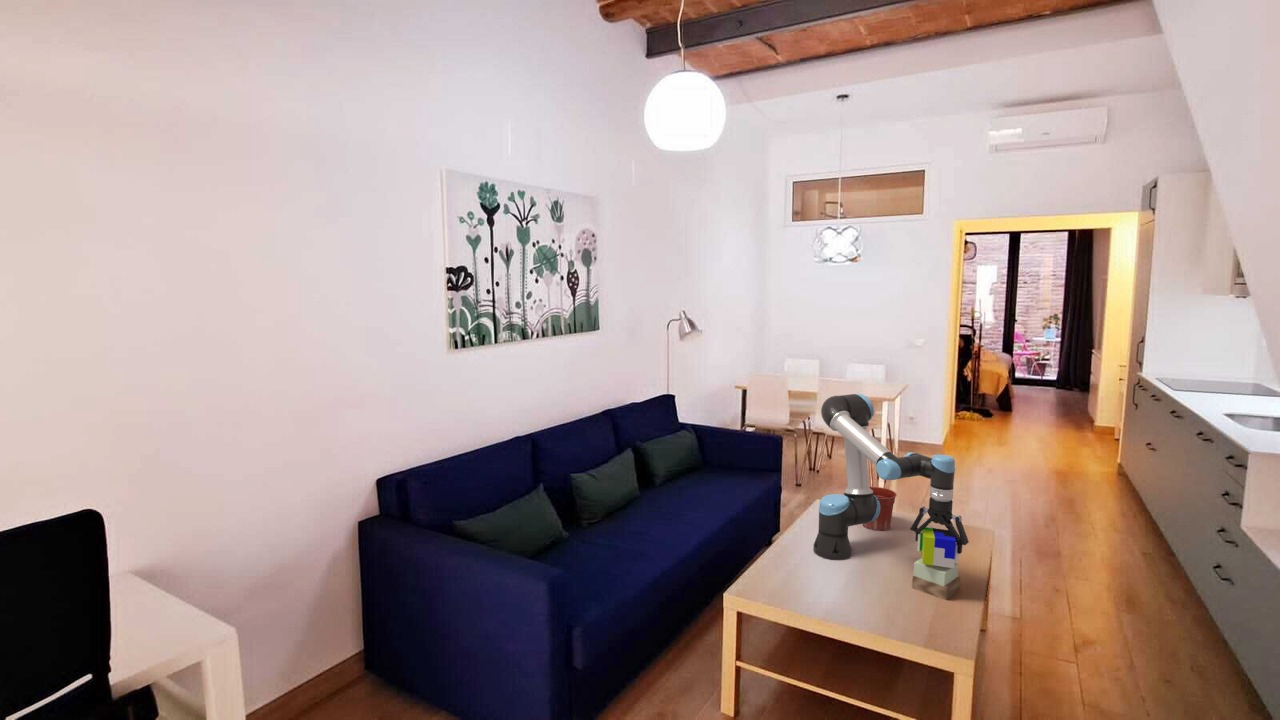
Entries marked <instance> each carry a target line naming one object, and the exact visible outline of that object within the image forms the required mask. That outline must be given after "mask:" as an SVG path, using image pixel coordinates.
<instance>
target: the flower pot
mask: <svg viewBox="0 0 1280 720" xmlns="http://www.w3.org/2000/svg"><path fill="white" fill-rule="evenodd" d="M869 488H870V489H871V490H872V491H873V494H874V495H875V496H876V497H877V498H878V499H877V500H879V502H880V514H879V516H878V518H877V519H876V520H874V521H872V522H869V523H866V524H862V526H863V527H864V528H866V529H868V530H871V529H872V531H878V530H879V531H880V532H881V531H883V530H884V531H888V530H889V529H890V528H891V524H892V519H893V517H892V516H893V511H894V510H893V509H894V504H895V501H896V497H897V496H898V495H897V494H898V493H897V492H896V491H894V490H893V489H889V488H886V487H879V486H869ZM884 531H883V532H884Z"/></svg>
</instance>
